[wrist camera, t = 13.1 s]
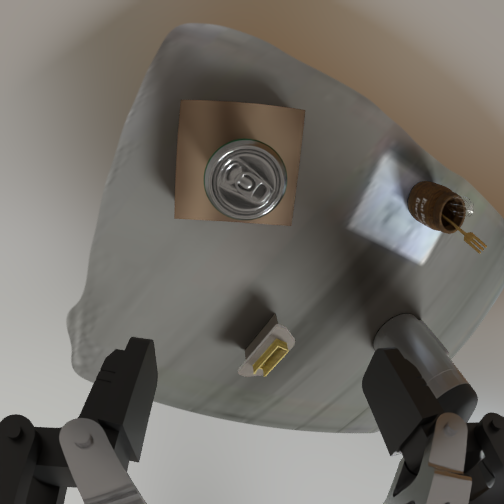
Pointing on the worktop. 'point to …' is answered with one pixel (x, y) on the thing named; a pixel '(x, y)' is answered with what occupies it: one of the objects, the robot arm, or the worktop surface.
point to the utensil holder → (440, 210)
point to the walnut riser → (223, 130)
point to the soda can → (245, 179)
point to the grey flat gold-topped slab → (267, 349)
